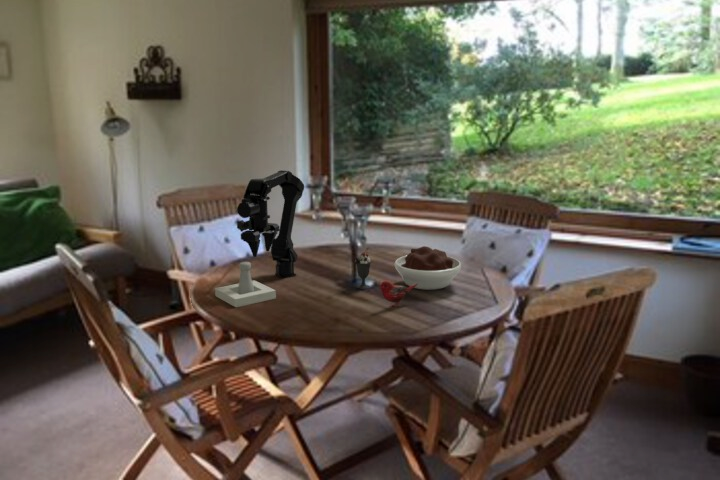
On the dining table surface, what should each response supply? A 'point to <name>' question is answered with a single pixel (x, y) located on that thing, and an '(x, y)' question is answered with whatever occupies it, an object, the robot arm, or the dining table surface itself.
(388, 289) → the decorative bird figurine
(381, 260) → the dining table surface
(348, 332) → the dining table surface
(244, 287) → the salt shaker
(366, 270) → the sundae
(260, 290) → the grey block
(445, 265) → the bowl of chocolate pudding
